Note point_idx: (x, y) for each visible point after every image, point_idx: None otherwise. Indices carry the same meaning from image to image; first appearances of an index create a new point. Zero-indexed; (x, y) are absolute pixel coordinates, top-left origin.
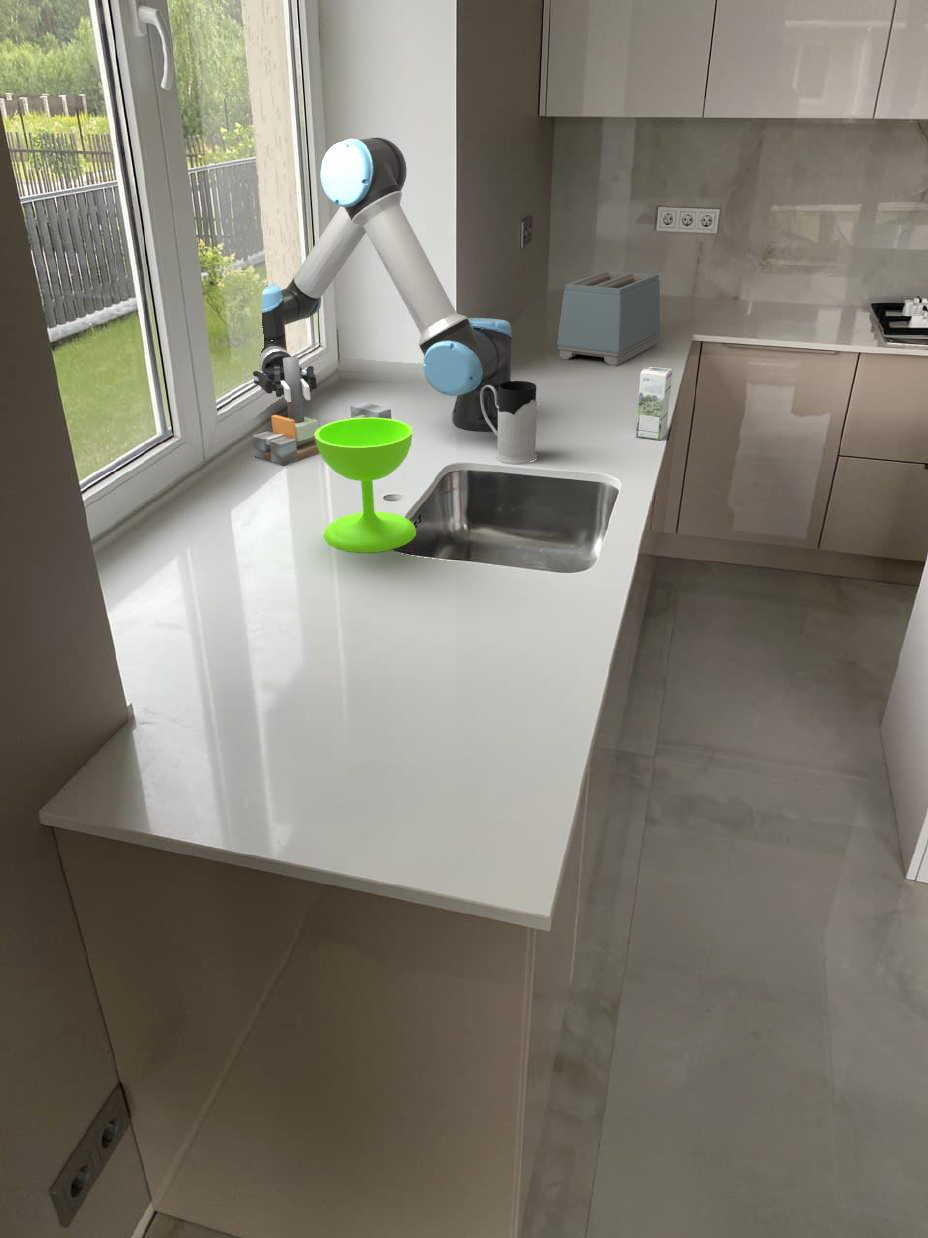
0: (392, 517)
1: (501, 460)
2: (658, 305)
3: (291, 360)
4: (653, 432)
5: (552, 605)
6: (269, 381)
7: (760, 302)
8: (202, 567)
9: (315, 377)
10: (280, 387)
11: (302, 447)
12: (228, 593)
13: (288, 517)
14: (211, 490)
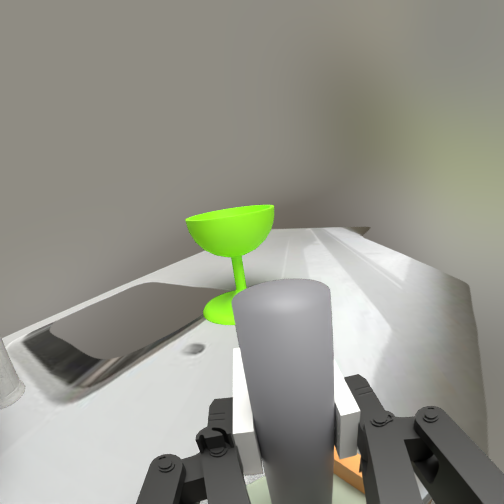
0: (217, 310)
1: (23, 389)
2: None
3: (278, 280)
4: None
5: (180, 270)
6: (421, 411)
7: None
8: (378, 276)
9: (156, 460)
10: (353, 382)
11: None
12: (350, 266)
13: None
14: (446, 365)
